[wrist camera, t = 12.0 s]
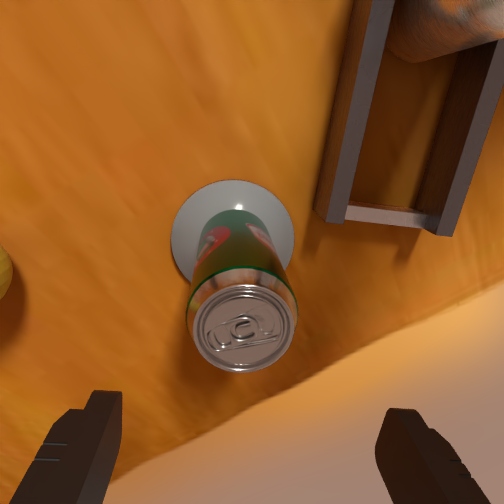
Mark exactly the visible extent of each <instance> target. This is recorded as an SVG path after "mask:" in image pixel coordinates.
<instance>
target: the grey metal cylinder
mask: <svg viewBox="0 0 504 504" xmlns="http://www.w3.org/2000/svg"><path fill="white" fill-rule="evenodd" d="M502 38H504V0H395V2H394V6H393V10H392V15H391V19H390V24H389V28H388V32H387V37H386V41H385V42H386V45H387V46H388V48H389V50H390V51H391V52H392V53H393V54H394V55H395V56H396V57H398V58H399V59H401V60H404V61H407V62H413V63H415V62H423V61H426V60H430V59H433V58H437V57H440V56H443V55H447V54H450V53H454V52H457V51H461V50H464V49H468V48H471V47H474V46H478V45H481V44H485V43H488V42H492V41H495V40H498V39H502Z"/></svg>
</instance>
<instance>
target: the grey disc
mask: <svg viewBox="0 0 504 504" xmlns="http://www.w3.org/2000/svg"><path fill="white" fill-rule="evenodd" d="M232 209H239V210H244V211H248V212H250V213H252V214H254V215H256V216H257V217H258V218H259V219H261V221H262V222H263V223H264V224H265V226H266V228H267V230H268V232H269V235H270V237H271V240H272V242H273V244H274V247H275V249H276V252H277V254H278V257H279V259H280V261H281V264H282V266H283V269H284V270H285V269H286V267H287V265H288V264H289V261H290V259H291V256H292V253H293V248H294V230H293V225H292V222H291V219H290V216H289V214H288V212H287V210H286V209H285V207H284V206H283V204H282V203H281V202H280V201H279V199H278V198H277V197H276V196H275V195H273V194H272V193H271V192H270V191H268V190H267V189H265V188H264V187H262V186H260V185H258V184H255V183H252V182H249V181H244V180H235V179H231V180H222V181H217V182H214V183H211V184H208V185H206V186H204V187H202V188H200V189H199V190H197V191H196V192H194V193H193V194H192V195H191V196H190V197H189V198H188V199H187V200H186V201H185V202H184V204H183V205H182V207H181V208H180V210H179V211H178V214H177V216H176V218H175V220H174V224H173V227H172V234H171V246H172V252H173V256H174V259H175V261H176V263H177V266H178V267H179V269H180V271H181V272H182V273H183V275H184V276H185V277H186V278H187V279H188V280H189V281H190V282H192V277H193V271H194V266H195V261H196V256H197V250H198V245H199V240H200V235H201V232H202V229H203V228H204V226H205V224H206V223H207V222H208V221H209V220H210V219H211V218H212V217H213V216H215V215H216V214H218V213H220V212H222V211H226V210H232Z"/></svg>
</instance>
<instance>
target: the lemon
mask: <svg viewBox="0 0 504 504" xmlns="http://www.w3.org/2000/svg"><path fill="white" fill-rule="evenodd" d="M12 275H13V267H12V261H11V259H10V257H9V255H8V253H7V252H6V250H5V249H4V248H3V247H2V246H1V245H0V300H1V299H2V297H3V296H4V295H5V294H6V292H7V290H8V288H9V286H10V284H11V281H12Z"/></svg>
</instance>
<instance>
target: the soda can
mask: <svg viewBox="0 0 504 504" xmlns="http://www.w3.org/2000/svg"><path fill="white" fill-rule="evenodd" d="M297 322H298V305H297V301H296V298H295V296H294V293H293V291H292V288H291V286H290V283H289V281H288V279H287V276H286V274H285V271H284V269H283V266H282V264H281V261H280V259H279V257H278V254H277V252H276V249H275V247H274V244H273V242H272V240H271V237H270V235H269V232H268V230H267V228H266V226H265V224H264V223H263V222H262V221H261V219H259V218H258V217H257V216H256V215H254V214H252V213H250V212H248V211H244V210H239V209H232V210H226V211H222V212H220V213H218V214H216V215H215V216H213V217H212V218H211V219H210V220H209V221H208V222H207V223H206V224H205V226H204V228H203V229H202V232H201V235H200V240H199V245H198V250H197V256H196V261H195V266H194V271H193V277H192V282H191V287H190V293H189V298H188V303H187V308H186V325H187V329H188V332H189V335H190V337H191V339H192V340H193V342H194V343H195V345H196V347H197V349H198V351H199V352H200V354H201V355H202V356H203V357H204V358H205V359H206V360H207V361H208V362H209V363H211V364H212V365H214V366H215V367H218V368H220V369H222V370H226V371H229V372H235V373H247V372H254V371H258V370H261V369H263V368H266V367H268V366H270V365H271V364H273V363H274V362H276V361H277V360H278V359H280V358H281V357H282V356H283V355H284V353H285V352H286V351H287V349H288V348H289V346H290V344H291V341H292V338H293V335H294V332H295V329H296V326H297Z"/></svg>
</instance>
